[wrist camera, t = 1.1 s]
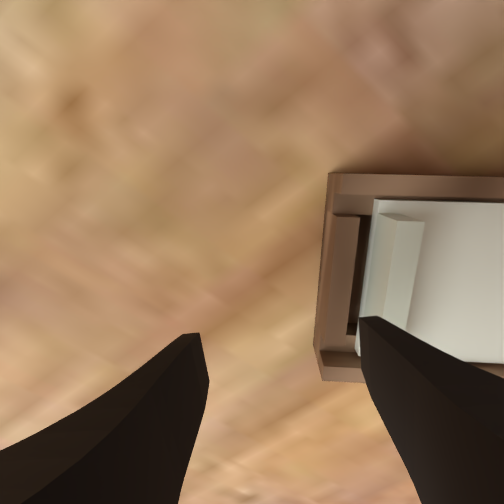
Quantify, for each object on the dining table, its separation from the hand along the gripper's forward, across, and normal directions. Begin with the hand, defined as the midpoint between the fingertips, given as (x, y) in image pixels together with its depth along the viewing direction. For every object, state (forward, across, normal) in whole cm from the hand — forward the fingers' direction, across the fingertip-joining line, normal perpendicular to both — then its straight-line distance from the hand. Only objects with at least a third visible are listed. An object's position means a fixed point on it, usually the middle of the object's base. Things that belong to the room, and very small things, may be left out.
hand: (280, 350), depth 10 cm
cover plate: (+8, -11, +2) cm, 13 cm away
